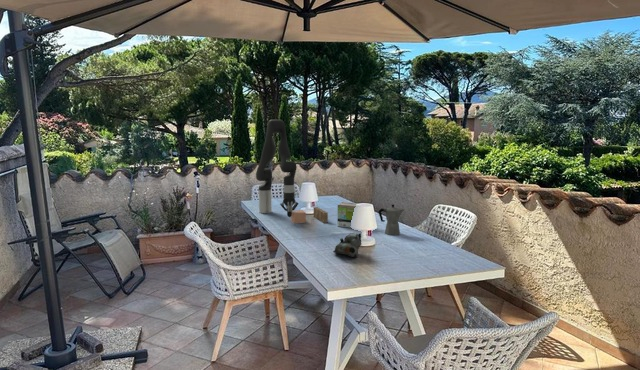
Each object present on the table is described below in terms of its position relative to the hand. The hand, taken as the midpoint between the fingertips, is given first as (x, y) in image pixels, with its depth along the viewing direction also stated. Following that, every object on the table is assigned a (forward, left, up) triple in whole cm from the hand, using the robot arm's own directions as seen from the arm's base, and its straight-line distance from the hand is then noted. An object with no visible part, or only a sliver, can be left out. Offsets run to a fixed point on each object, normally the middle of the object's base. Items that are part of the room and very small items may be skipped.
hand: (289, 216), depth 290 cm
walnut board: (0, +22, -4) cm, 23 cm away
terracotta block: (0, +6, -4) cm, 8 cm away
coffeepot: (+50, +49, -4) cm, 70 cm away
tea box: (+24, +34, -4) cm, 42 cm away
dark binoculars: (+79, +7, -4) cm, 80 cm away
